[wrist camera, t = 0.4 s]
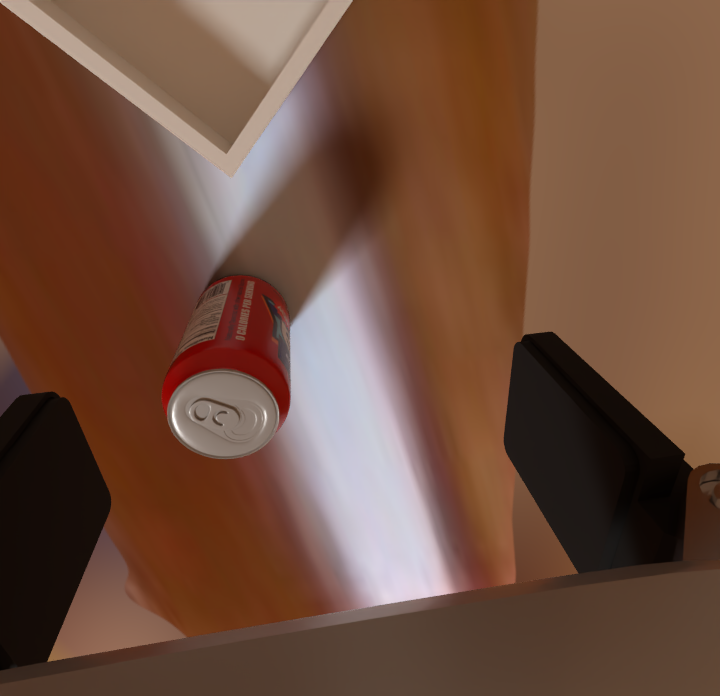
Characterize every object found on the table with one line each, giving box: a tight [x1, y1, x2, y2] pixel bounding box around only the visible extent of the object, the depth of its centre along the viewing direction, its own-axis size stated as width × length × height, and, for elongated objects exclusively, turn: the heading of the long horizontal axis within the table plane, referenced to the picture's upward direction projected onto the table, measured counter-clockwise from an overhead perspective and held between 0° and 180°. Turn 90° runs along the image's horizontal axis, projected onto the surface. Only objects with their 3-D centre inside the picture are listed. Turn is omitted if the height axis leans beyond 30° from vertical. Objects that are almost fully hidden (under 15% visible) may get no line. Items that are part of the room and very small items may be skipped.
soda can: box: [162, 275, 291, 459], centre depth 35 cm, size 8×8×15 cm
